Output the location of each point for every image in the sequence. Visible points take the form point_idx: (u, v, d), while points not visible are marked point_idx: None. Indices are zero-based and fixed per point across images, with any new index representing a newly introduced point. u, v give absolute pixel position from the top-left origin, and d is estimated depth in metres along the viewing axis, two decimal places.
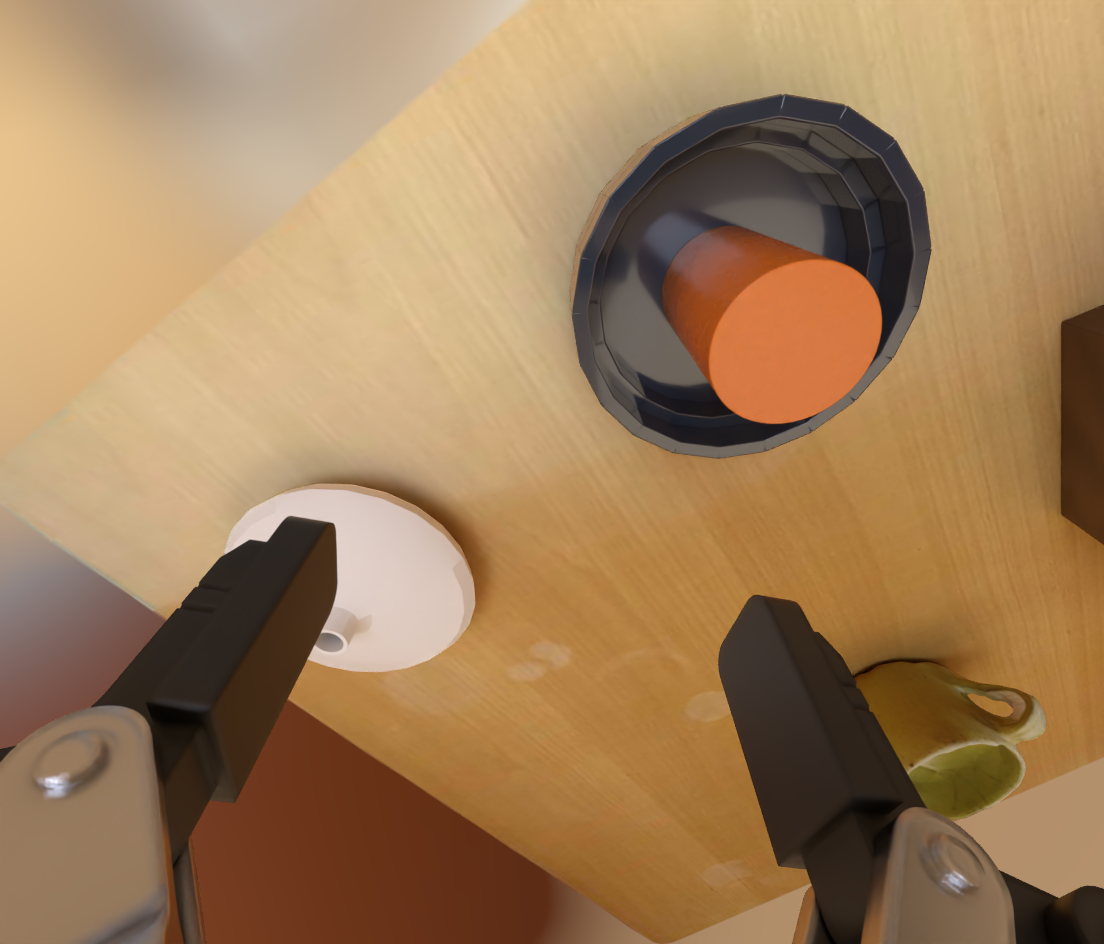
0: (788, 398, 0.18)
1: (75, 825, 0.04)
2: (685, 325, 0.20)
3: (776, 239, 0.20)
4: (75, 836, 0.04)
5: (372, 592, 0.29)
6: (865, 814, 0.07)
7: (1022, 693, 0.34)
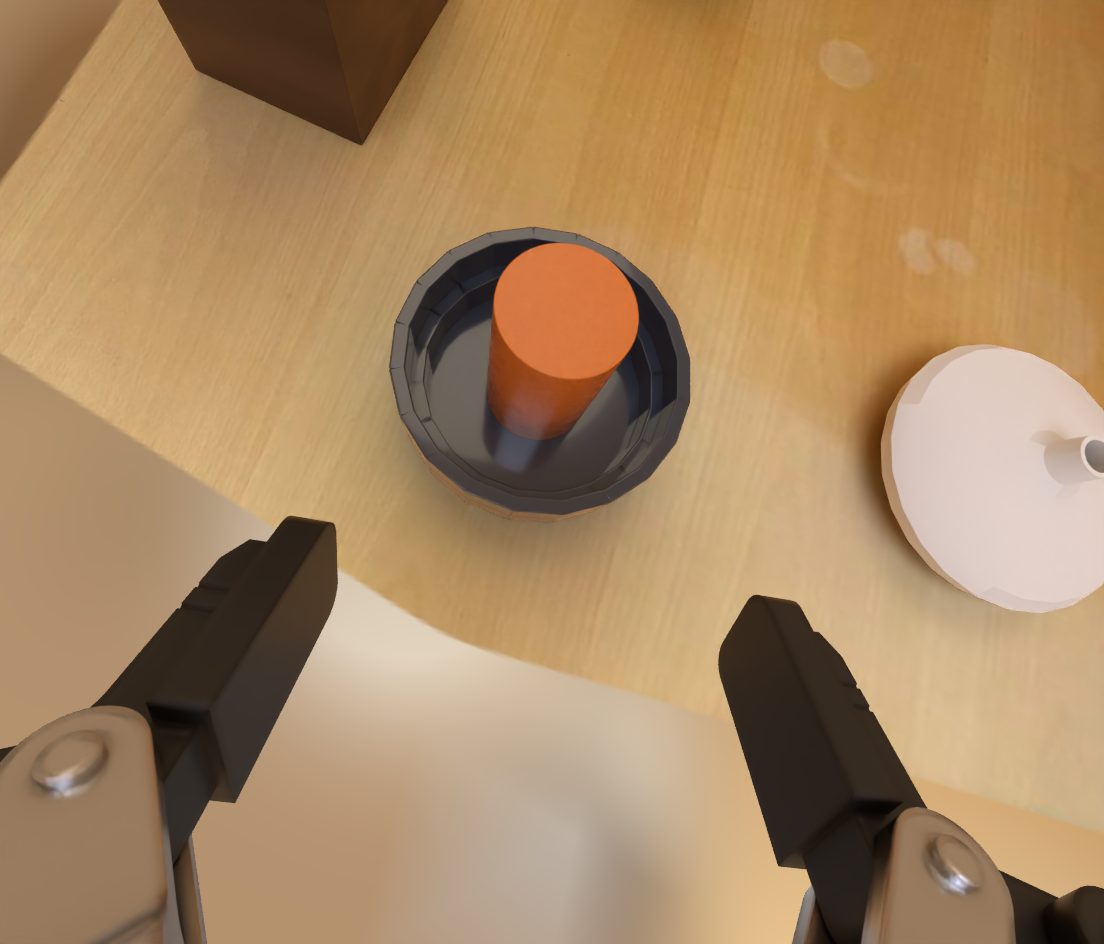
0: (597, 279, 0.19)
1: (75, 825, 0.04)
2: (596, 393, 0.22)
3: (494, 384, 0.23)
4: (75, 836, 0.04)
5: (1004, 453, 0.27)
6: (865, 814, 0.07)
7: None
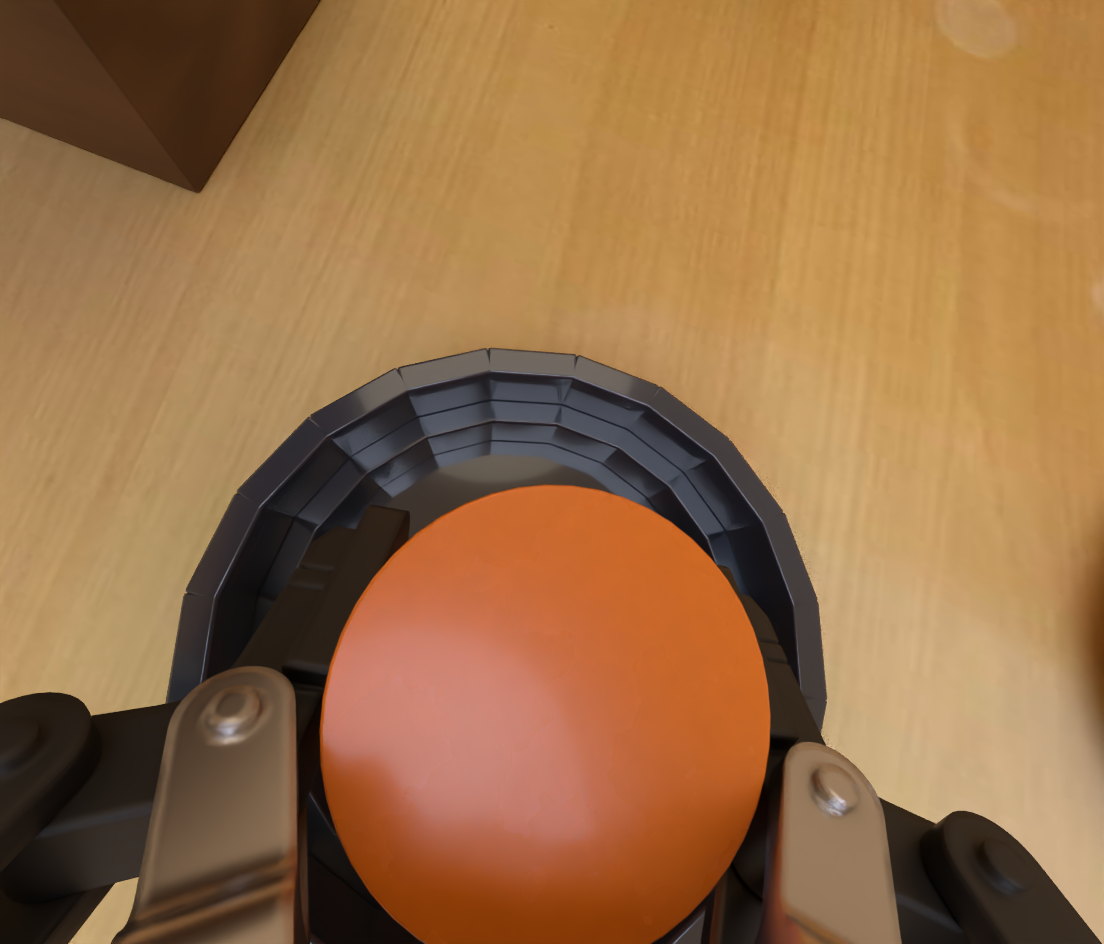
0: (642, 589, 0.07)
1: (231, 769, 0.05)
2: None
3: None
4: (251, 773, 0.05)
5: None
6: None
7: None
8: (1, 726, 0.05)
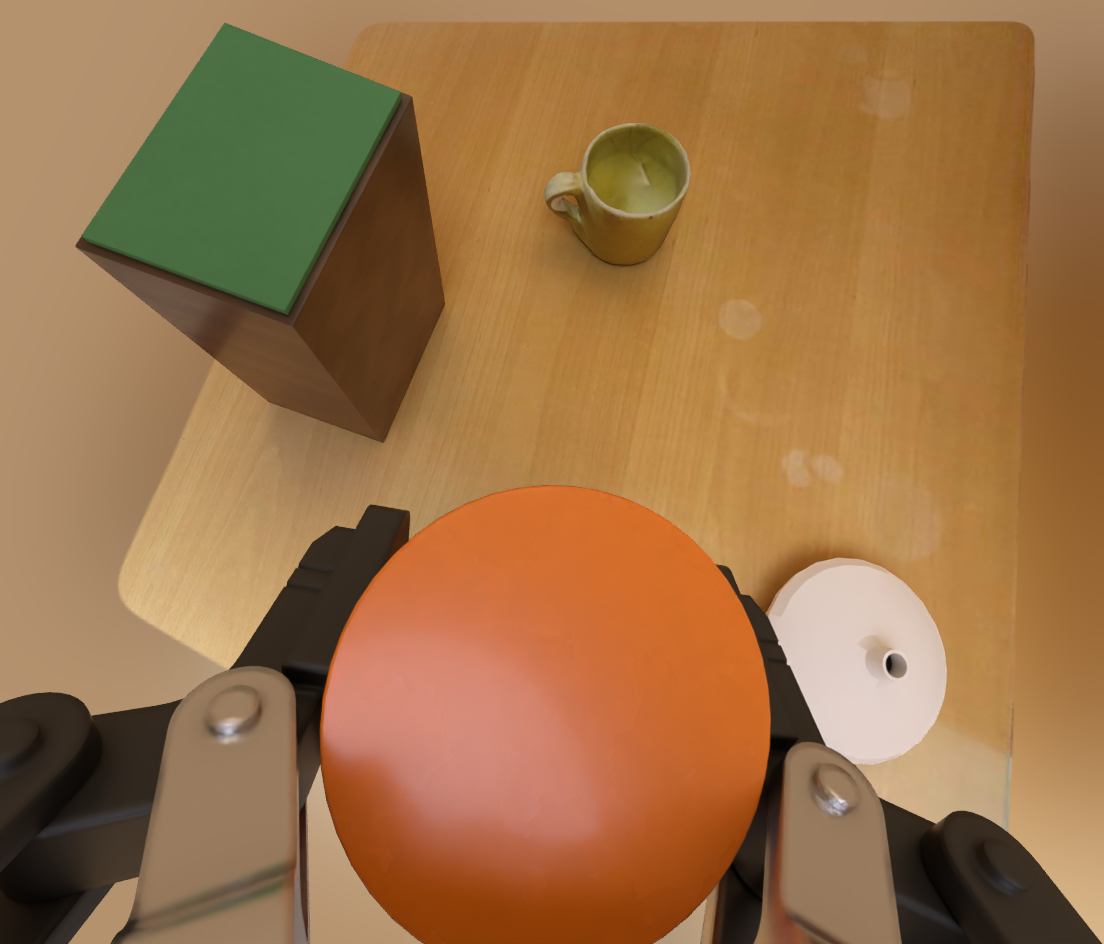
0: (643, 590, 0.07)
1: (231, 769, 0.05)
2: None
3: None
4: (251, 773, 0.05)
5: (839, 655, 0.38)
6: None
7: (548, 205, 0.43)
8: (1, 726, 0.05)
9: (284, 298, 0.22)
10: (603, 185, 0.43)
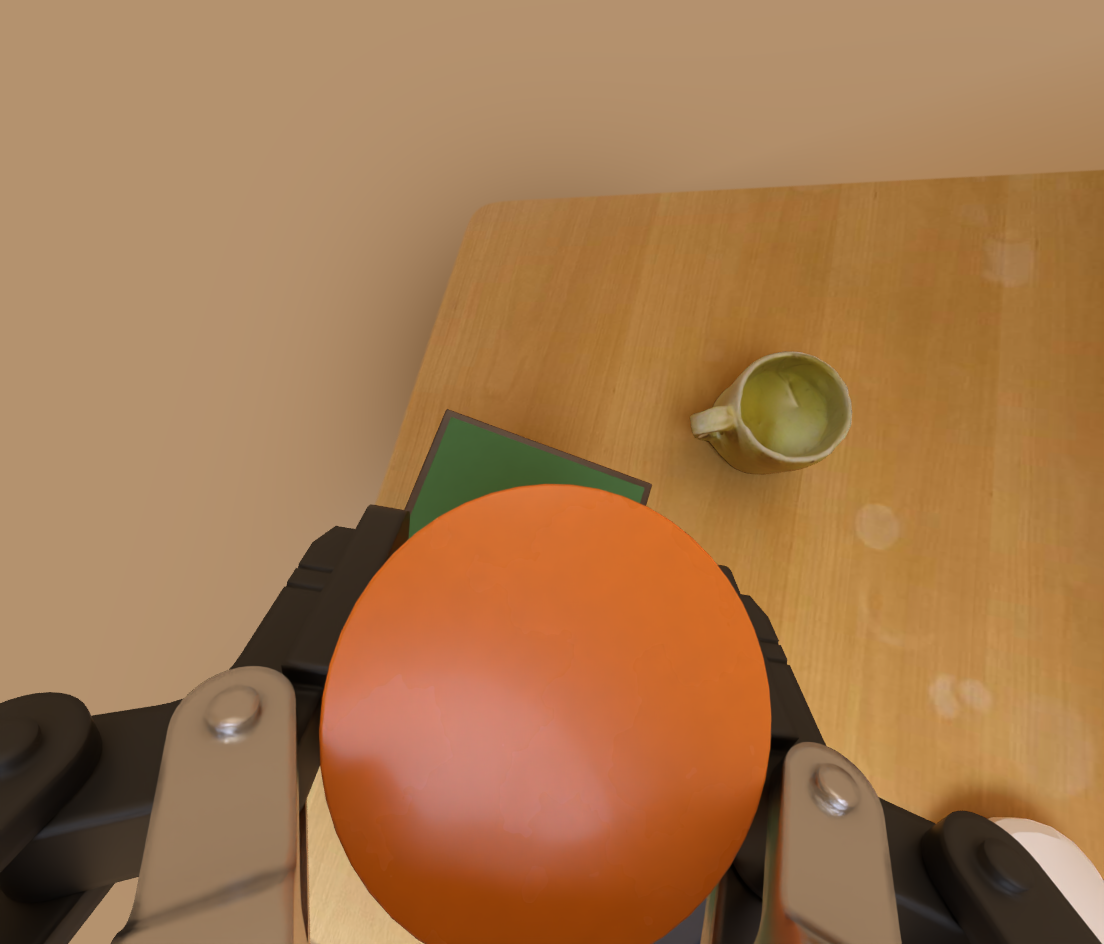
0: (643, 589, 0.07)
1: (232, 769, 0.05)
2: None
3: None
4: (251, 773, 0.05)
5: None
6: None
7: (695, 436, 0.40)
8: (0, 727, 0.05)
9: None
10: (750, 409, 0.41)
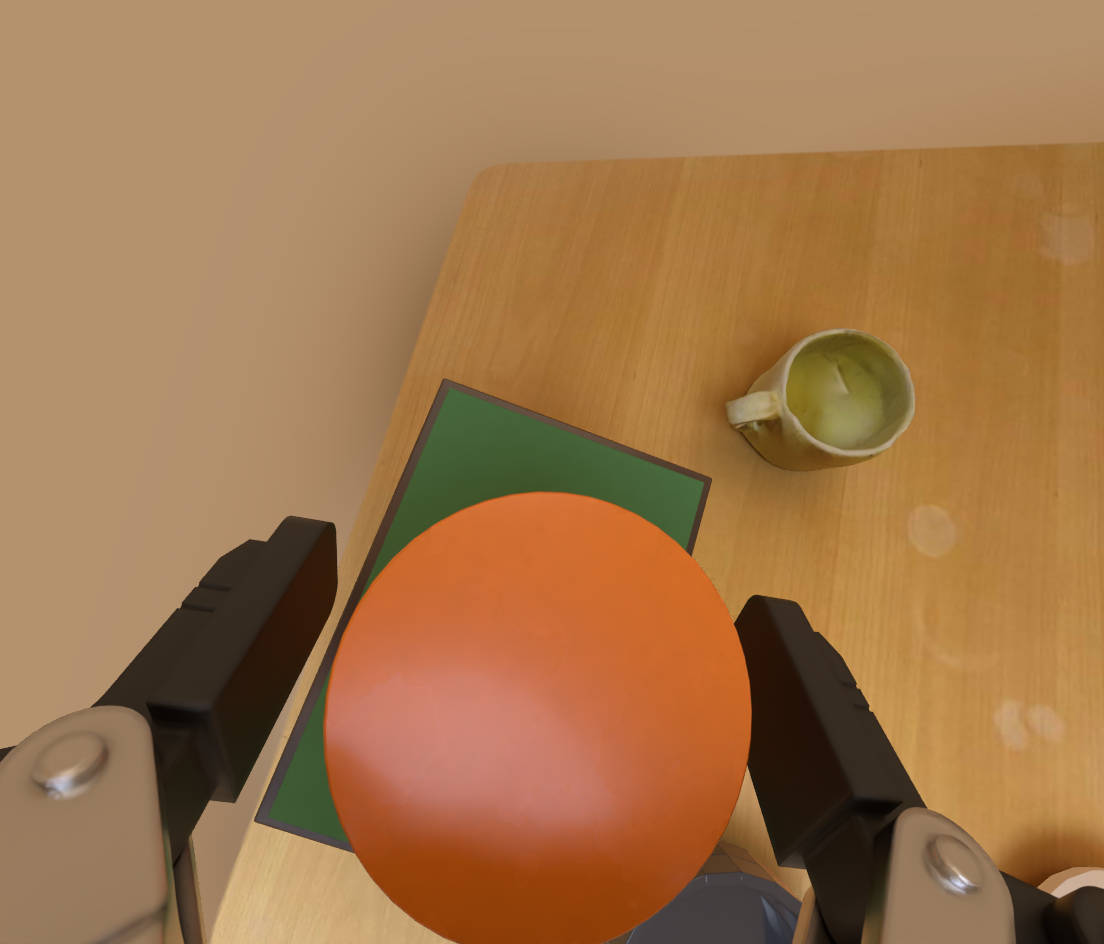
0: (630, 591, 0.07)
1: (75, 825, 0.04)
2: None
3: None
4: (75, 836, 0.04)
5: None
6: (865, 814, 0.07)
7: (731, 426, 0.34)
8: None
9: None
10: (794, 396, 0.35)
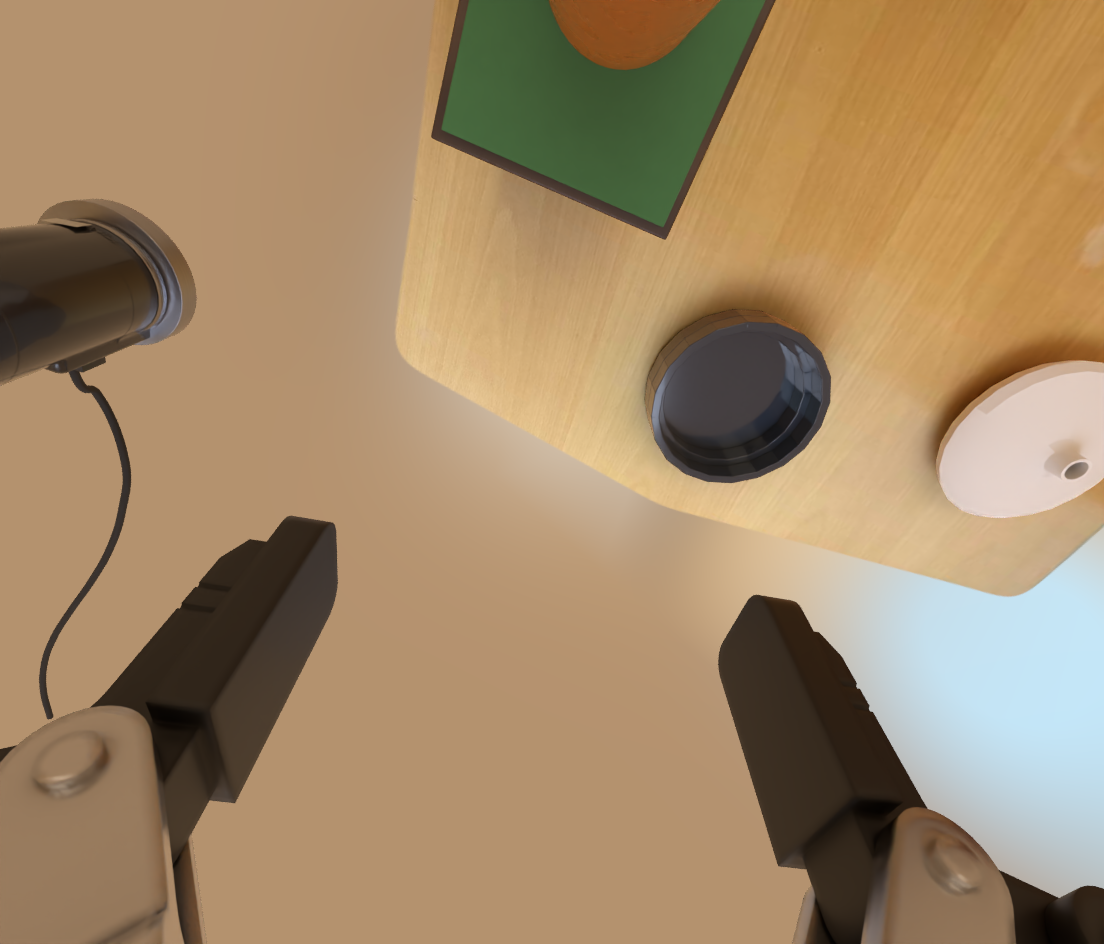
0: None
1: (75, 825, 0.04)
2: None
3: None
4: (75, 836, 0.04)
5: (1024, 451, 0.42)
6: (865, 814, 0.07)
7: None
8: None
9: (663, 210, 0.20)
10: None
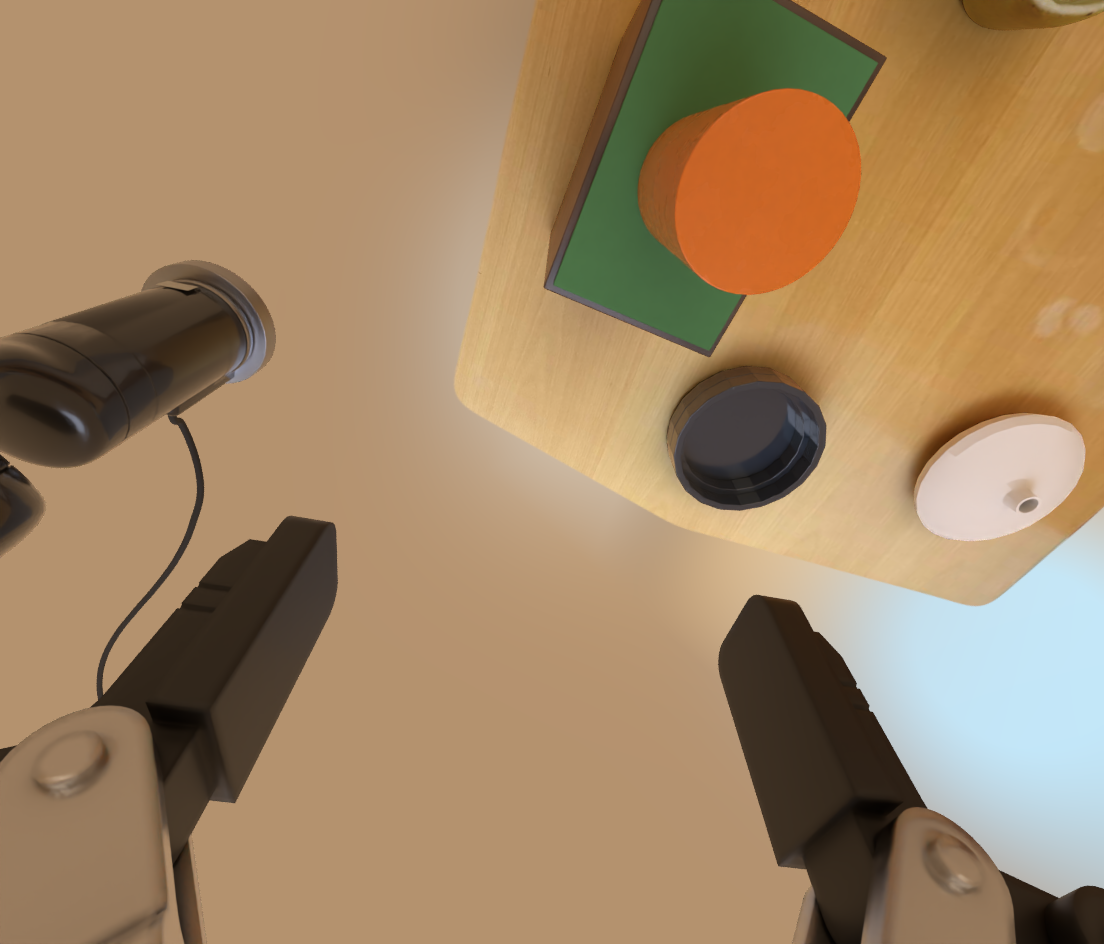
0: (817, 149, 0.15)
1: (76, 825, 0.04)
2: None
3: (654, 225, 0.20)
4: (75, 836, 0.04)
5: (986, 488, 0.50)
6: (865, 814, 0.07)
7: None
8: None
9: (710, 339, 0.27)
10: None
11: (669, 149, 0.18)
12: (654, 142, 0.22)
